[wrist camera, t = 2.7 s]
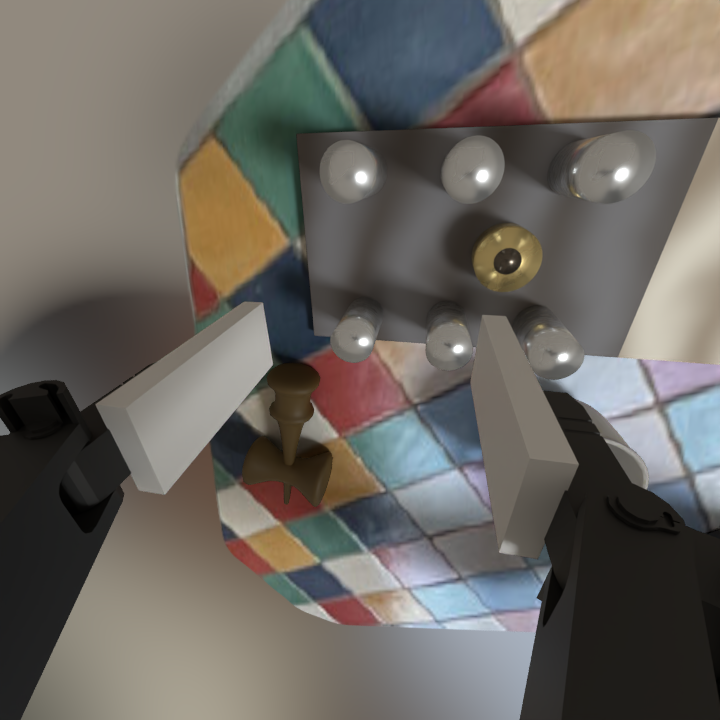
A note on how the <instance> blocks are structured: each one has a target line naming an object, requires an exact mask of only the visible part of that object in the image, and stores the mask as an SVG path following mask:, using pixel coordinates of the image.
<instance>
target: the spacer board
mask: <svg viewBox="0 0 720 720" xmlns="http://www.w3.org/2000/svg"><path fill="white" fill-rule="evenodd" d="M628 130H635V131H639V132H642V133H644V134H646V135H647V136H648V137H649V138H650V139H651V140H652V141H653V143H654V146H655V149H656V161H655V165H654V168H653V171H652V173H651V175H650V177H649V178H648V180H647V181H646V183H645V184H644V185H643V186H642V187H641V188H640V189H639V190H638V191H637V192H636V193H634V194H633V195H631V196H630V197H628V198H626V199H624V200H622V201H619V202H616V203H611V204H602V203H597V202H592V201H587V200H581V199H576V198H571V197H566V196H561V195H559V194H557V193H555V192H554V191H553V190H552V189H551V187H550V185H549V183H548V169H549V166H550V163H551V161H552V159H553V158H554V156H555V155H556V154H557V153H558V152H559V151H560V150H561V149H562V148H563V147H564V146H566V145H568V144H570V143H572V142H574V141H578V140H583V139H588V138H593V137H597V136H602V135H607V134H612V133H617V132H621V131H628ZM477 135H479V136H486V137H489V138H491V139H492V140H494V141H495V142H496V143H497V144H498V145H499V147H500V148H501V150H502V152H503V156H504V161H505V167H504V173H503V177H502V179H501V181H500V183H499V185H498V187H497V188H496V189H495V191H494V192H493V193H492V194H491V195H490V196H488V197H487V198H485V199H484V200H482V201H480V202H477V203H472V204H465V203H460V202H458V201H456V200H454V199H453V198H452V197H451V196H450V195H449V194H448V193H447V191H446V190H445V188H444V186H443V184H442V181H441V167H442V163H443V161H444V159H445V157H446V156H447V154H448V153H449V152H450V151H451V149H452V148H453V147H454V146H455V145H456V144H457V143H459V142H460V141H462V140H463V139H465V138H468V137H471V136H477ZM296 136H297V147H298V158H299V170H300V181H301V192H302V203H303V214H304V225H305V236H306V247H307V258H308V269H309V280H310V291H311V303H312V314H313V325H314V335H315V336H329V337H331V336H332V333H333V332H334V330H335V328H336V327H337V325H338V324H339V322H340V320H341V319H342V317H343V316H344V314H345V312H346V311H347V309H348V308H349V306H350V304H351V303H352V302H353V301H354V300H355V299H357V298H360V297H370V298H373V299H375V300H376V301H377V302H378V303H379V304H380V305H381V307H382V309H383V313H384V316H383V320H382V323H381V326H380V329H379V332H378V335H377V338H376V340H384V341H398V342H412V343H426V333H427V316H428V313H429V311H430V309H431V308H432V307H433V306H434V305H435V304H437V303H439V302H442V301H453V302H456V303H457V304H459V305H460V306H461V307H462V308H463V309H464V311H465V315H466V319H467V324H468V329H469V333H470V338H471V343H472V347H477V342H478V336H479V331H480V325H481V319H482V315H495V316H506V317H507V319H508V321H509V323H510V325H511V327H512V329H513V321H514V319H515V317H516V316H517V314H518V313H519V312H520V311H522V310H523V309H525V308H527V307H530V306H534V305H540V306H545V307H547V308H549V309H550V310H551V311H552V312H553V313H554V314H555V315H556V316H557V318H558V319H559V320H560V321H561V322H562V324H563V325H564V326H565V327H566V328H567V330H568V331H569V332H570V333H571V334H572V336H573V337H574V338H575V339H576V340H577V342H578V343H579V344H580V345H581V346H582V348H583V350H584V355H592V356H606V357H619V358H633V359H647V360H661V361H675V362H689V363H702V364H716V365H720V118H698V119H672V120H646V121H619V122H593V123H567V124H540V125H514V126H488V127H461V128H435V129H409V130H383V131H356V132H330V133H304V134H296ZM341 140H351V141H355V142H357V143H360V144H363V145H366V146H368V147H371V148H374V149H375V150H377V151H378V152H379V153H380V154H381V155H382V157H383V158H384V161H385V163H386V168H387V175H386V180H385V183H384V185H383V187H382V188H381V189H380V190H379V191H378V192H377V193H376V194H374V195H372V196H370V197H367V198H365V199H362V200H360V201H357V202H355V203H350V204H344V203H340V202H337V201H335V200H334V199H332V198H331V197H330V196H329V195H328V194H327V193H326V191H325V189H324V188H323V186H322V183H321V179H320V163H321V160H322V157H323V155H324V153H325V151H326V150H327V149H328V148H329V147H330V146H331V145H332V144H334V143H335V142H338V141H341ZM501 223H515V224H518V225H520V226H522V227H524V228H525V229H526V230H528V231H529V232H531V233H532V234H533V235H534V236H535V237H536V238H537V239H538V241H539V242H540V245H541V248H542V262H541V266H540V268H539V270H538V272H537V274H536V275H535V276H534V278H533V279H532V280H531V281H530V282H528V283H527V284H526V285H524V286H523V287H521V288H519V289H517V290H513V291H509V292H497V291H493V290H490V289H488V288H486V287H485V286H483V285H482V284H481V283H480V281H479V280H478V278H477V277H476V274H475V271H474V268H473V265H472V259H471V256H472V250H473V246H474V244H475V242H476V240H477V239H478V238H479V236H480V235H481V234H482V233H483V232H484V231H486V230H487V229H488V228H490V227H492V226H494V225H497V224H501ZM518 342H519V341H518ZM519 344H520V343H519ZM520 346H521V345H520ZM521 348H522V347H521ZM522 350H523V349H522Z"/></svg>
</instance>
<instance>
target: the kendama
mask: <svg viewBox="0 0 720 720" xmlns="http://www.w3.org/2000/svg"><path fill="white" fill-rule="evenodd" d="M267 382H268V385H269V386H270V387H271V388H272V389H273V390H274V391H275V394H276V395H275V401H274V402H273V403H272V404H271V406H270V408H269V410H270V415H271V416H272V417H273V418H274V419H276V420H277V421H278V424H279V427H280V433H281V440H282V448H283V452H282V451H281V450H279V449H278V448H277V447H276V446H275V445H274V444H273V443H272V442H271V441H270V440H269V439H268V438H266V437H265V436H261V437H259V438H258V439H257V440H256V441H255V442H254V443H253V444H252V445H251V447H250V449H249V450H248V453H247V455H246V457H245V460H244V464H243V470H242V477H243V482H245V483H246V484H248V485H251V484H256V483H260V482H265V481H279V482H283V483H284V503H285V504H286V505H287V504H288V503H289V499H290V493H291V486H294V487H295V488H297V489H298V490H299V491H300V492H301V493H302V494H303V495H304V496H305V498H306V499H307V500H308V501H309V502H310V503H311V504H312V505H313V506H314V507H317V506H318V505H319V503H320V502H321V500H322V498H323V495H324V493H325V491H326V488H327V484H328V481H329V477H330V473H331V469H332V460H333V457H332V454H331V453H330V452H326V453H323V454H320V455H317V456H313V457H310V458H301V457H295V456H296V451H297V446H298V442H299V438H300V434H301V430H302V427H303V425H304V423H305V422H307V421H309V419H310V418H311V417H312V416H313V413H314V408H313V405H312V403H311V402H310V397H311V393H312V392H313V391H314V390H315V389H316V388H317V387H318V386H319V382H320V376H319V374H318V372H317V371H315V370H314V369H313V368H311V367H309V366H307V365H304V364H299V363H284V364H281V365H278V366H276V367H275V368H273V369H272V370H270V372H269V374H268V375H267Z"/></svg>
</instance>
